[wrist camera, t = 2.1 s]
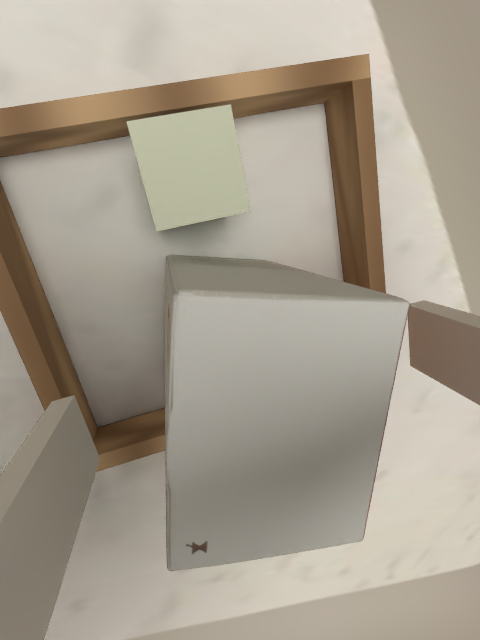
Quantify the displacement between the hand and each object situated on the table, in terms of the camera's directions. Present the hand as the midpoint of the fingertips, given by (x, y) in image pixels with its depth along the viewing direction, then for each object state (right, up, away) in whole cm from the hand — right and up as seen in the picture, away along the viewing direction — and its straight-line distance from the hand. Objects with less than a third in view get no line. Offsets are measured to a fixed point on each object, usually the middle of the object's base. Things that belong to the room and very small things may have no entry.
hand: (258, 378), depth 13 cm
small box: (-2, +2, +9) cm, 9 cm away
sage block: (-4, +10, +6) cm, 12 cm away
